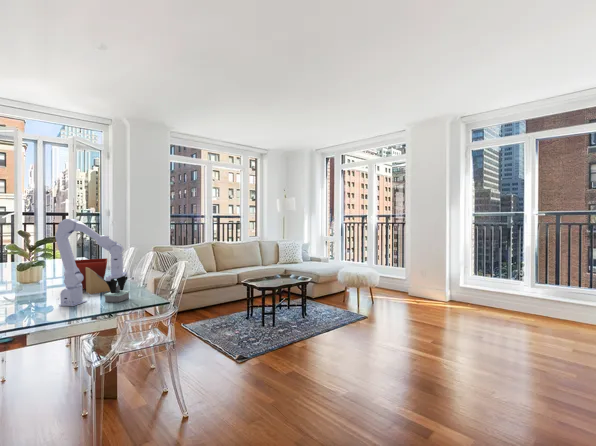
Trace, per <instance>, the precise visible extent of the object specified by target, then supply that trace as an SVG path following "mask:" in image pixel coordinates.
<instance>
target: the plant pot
mask: <svg viewBox="0 0 596 446" xmlns="http://www.w3.org/2000/svg"><path fill="white" fill-rule="evenodd" d="M75 263H76V266H77V267H78V269H79V270H80V273H81V274H82V275H83V277H84V279H83V281H82V282H81V283H82V290H86V267H87V268H90V269H91V270H93V271H94V272H95V273H96V274H98V275H99V276H100V277H102V278H103V279H104V280H105V277H106V272H107V271H106V270H107V266H108V258H89V259H88V258H87V259H75Z"/></svg>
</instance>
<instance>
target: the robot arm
mask: <svg viewBox="0 0 596 446" xmlns="http://www.w3.org/2000/svg"><path fill="white" fill-rule="evenodd" d="M74 232H78V233H79V232H81V233H83V234H85V235H87V236H88V237H90V238H91V239H93V240H95V241H96V245H98V246H99V247H101V248H103V249H104V250H106V251H108V253H109V255H110V275H108V276H105V280H106V283H107V284H108V286H109V288H110V291H109V292H111V293H115V292H116V286H118V285H119V286H120V291H124V287H125V284H126V282H127V280H128V278H129V277H128V272H125V271H124V259H123V256H124V255H123V253H124V252H123V251H124V246H123V245H122V244H121V243H118V242H117V241H114V240H113V239H112V238H111V237H110V236H109V235H106V234H103V235H101V234H99V233H98V232H96V231H95V230H94V229H92V228H91V227H90V226H88V225H87V224H86V223H84V222H82V221H79V220H78V219H76V218H64V219H63V220H61V221H60V222H59V223H58V224H57V229H56V232H55V236H54V238H55V241H56V244H57V248H58V251H59V253H60V255H59V256H60V258H61V262H62V264H63V268H64V274H63V276H64V278H63V279H64V280H63V283H64V285H65V288H64V289H62V290H61V291H60V295H59V296H60V298H59V299H60V304H58V306H60V307H75V306H78V305H80V304H83V303H86V302H87V300H86V299H83V297H84V295H83V294H84V293H83V290H84V289H82V283H81V282H82V281H83V279H84V277H83V275H82V274H81V273H80V270H79V269H78V267H77V266H76V263H75V260H76V259H75V256H74V253H73V250H72V246H71V243H70V239H69V237H70V236H71V235H72V234H73V233H74Z"/></svg>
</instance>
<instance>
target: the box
mask: <svg viewBox="0 0 596 446" xmlns="http://www.w3.org/2000/svg"><path fill="white" fill-rule="evenodd" d="M129 299H130V292H129V293H126V294H124V295H121V296H104V301H105V302H104V303H118V304H119V303H121V302H125V301H127V300H129Z"/></svg>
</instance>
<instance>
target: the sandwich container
mask: <svg viewBox="0 0 596 446" xmlns="http://www.w3.org/2000/svg"><path fill="white" fill-rule="evenodd" d="M106 291H107V292H110V288H109V286H108V284H107V283H106V279H105V278H104V279H103V278H102V277H100V276H99V275H98V274H96V273H95V272H94V271H93V270H91V269H90V268H87V267H86V289H85V292H86V293H87V294H89V295H94V294H99V293H100V294H101V293H107V292H106Z"/></svg>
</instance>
